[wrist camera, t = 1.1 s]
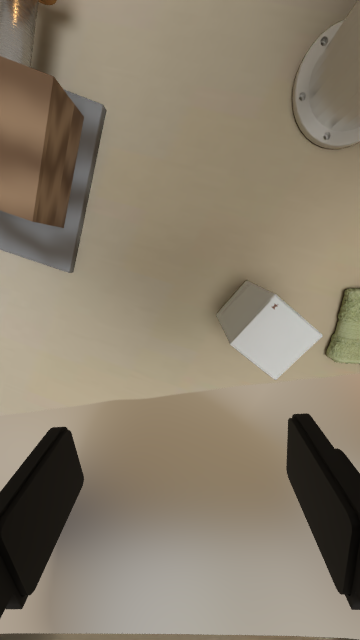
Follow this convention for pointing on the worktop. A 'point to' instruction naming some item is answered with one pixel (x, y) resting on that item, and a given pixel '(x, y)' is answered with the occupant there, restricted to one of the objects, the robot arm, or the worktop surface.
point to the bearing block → (44, 164)
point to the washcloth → (347, 330)
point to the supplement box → (266, 329)
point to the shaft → (18, 28)
